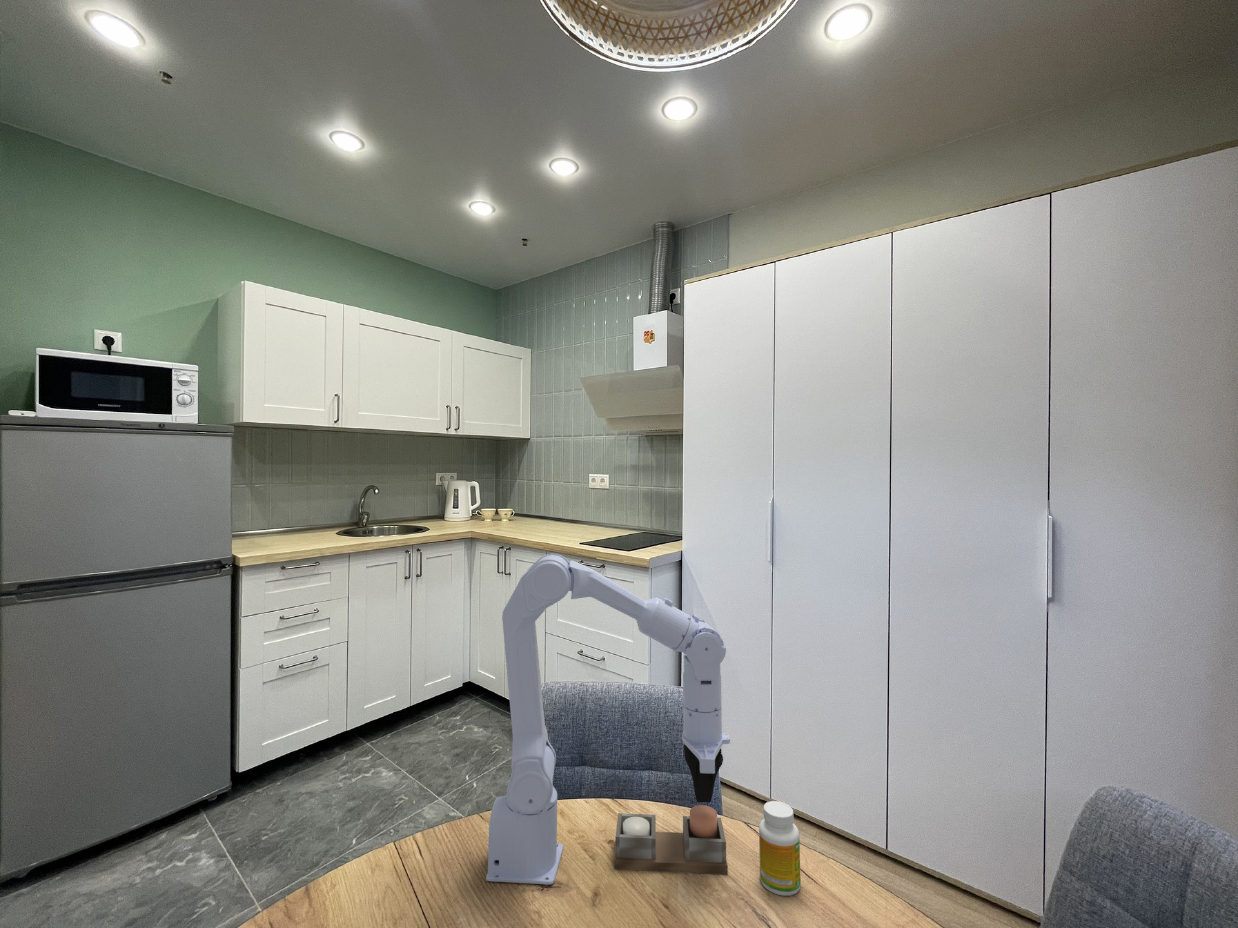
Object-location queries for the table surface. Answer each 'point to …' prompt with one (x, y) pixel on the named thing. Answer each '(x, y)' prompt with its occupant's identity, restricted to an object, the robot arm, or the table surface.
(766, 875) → the supplement bottle
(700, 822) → the tan rounded dome
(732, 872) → the table surface
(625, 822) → the white plunger
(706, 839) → the panel
